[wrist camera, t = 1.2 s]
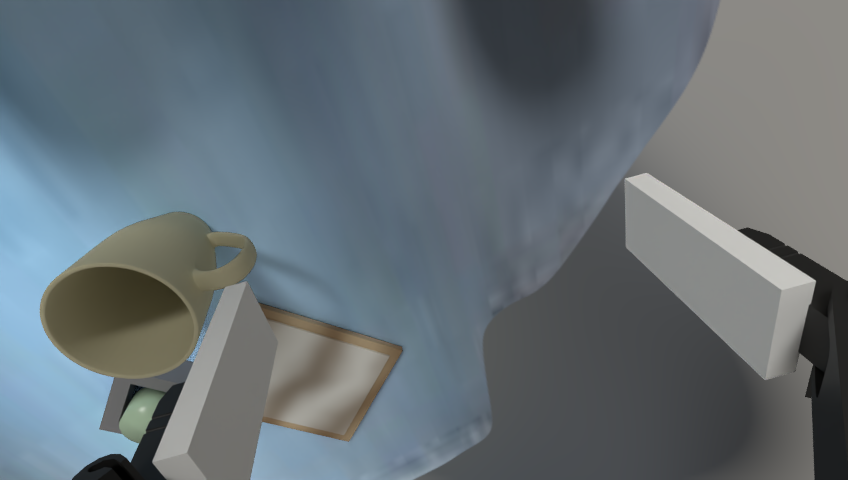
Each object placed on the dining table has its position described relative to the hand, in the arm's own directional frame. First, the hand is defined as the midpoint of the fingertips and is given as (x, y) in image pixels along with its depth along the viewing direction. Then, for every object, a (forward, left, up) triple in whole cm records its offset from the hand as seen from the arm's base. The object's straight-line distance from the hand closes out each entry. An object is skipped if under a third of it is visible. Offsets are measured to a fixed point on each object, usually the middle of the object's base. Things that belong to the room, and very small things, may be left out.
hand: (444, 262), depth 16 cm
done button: (-9, -34, -22) cm, 42 cm away
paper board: (+3, -28, -24) cm, 37 cm away
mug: (-11, -16, -24) cm, 31 cm away
